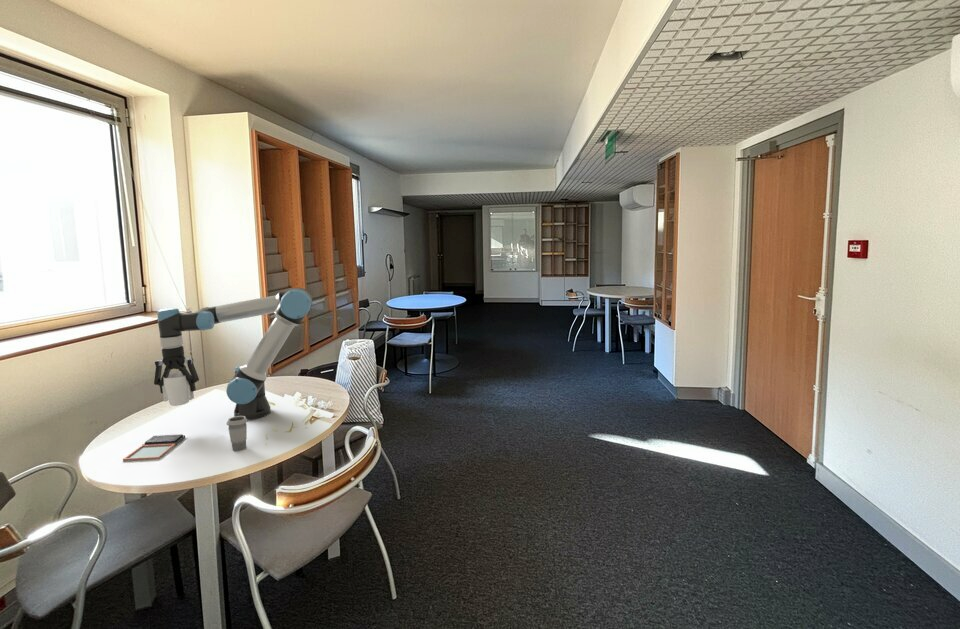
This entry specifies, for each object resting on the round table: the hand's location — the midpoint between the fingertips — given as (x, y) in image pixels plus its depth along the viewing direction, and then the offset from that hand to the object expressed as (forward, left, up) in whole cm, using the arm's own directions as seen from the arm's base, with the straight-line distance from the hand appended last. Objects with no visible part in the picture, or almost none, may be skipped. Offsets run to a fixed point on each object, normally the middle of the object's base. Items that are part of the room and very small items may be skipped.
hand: (179, 399), depth 198 cm
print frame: (+1, +22, -13) cm, 26 cm away
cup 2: (-31, +22, -14) cm, 40 cm away
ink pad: (+1, +12, -13) cm, 18 cm away
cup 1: (0, 0, -2) cm, 2 cm away
